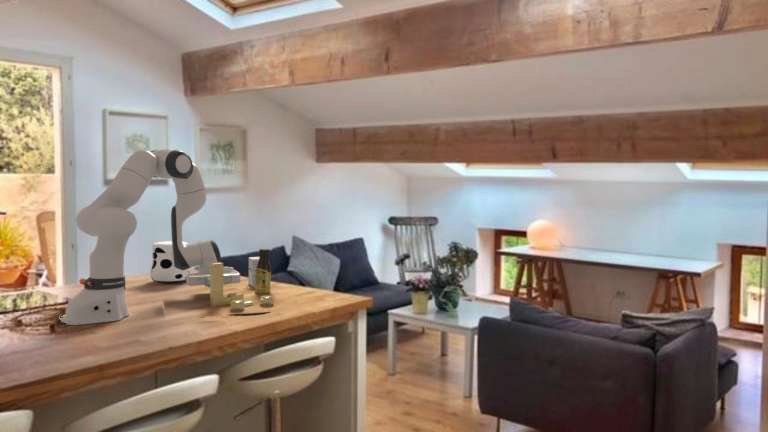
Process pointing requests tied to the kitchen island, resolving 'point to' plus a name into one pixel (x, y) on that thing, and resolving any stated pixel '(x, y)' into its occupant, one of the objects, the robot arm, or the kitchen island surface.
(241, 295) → the lever knob
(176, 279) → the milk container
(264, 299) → the levelling plate
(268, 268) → the sauce bottle
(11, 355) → the kitchen island surface
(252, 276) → the supplement box
